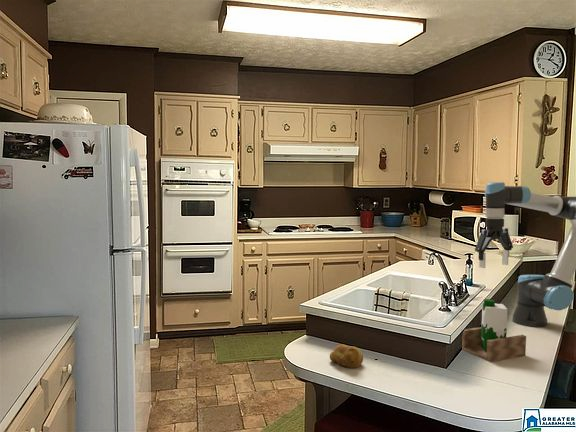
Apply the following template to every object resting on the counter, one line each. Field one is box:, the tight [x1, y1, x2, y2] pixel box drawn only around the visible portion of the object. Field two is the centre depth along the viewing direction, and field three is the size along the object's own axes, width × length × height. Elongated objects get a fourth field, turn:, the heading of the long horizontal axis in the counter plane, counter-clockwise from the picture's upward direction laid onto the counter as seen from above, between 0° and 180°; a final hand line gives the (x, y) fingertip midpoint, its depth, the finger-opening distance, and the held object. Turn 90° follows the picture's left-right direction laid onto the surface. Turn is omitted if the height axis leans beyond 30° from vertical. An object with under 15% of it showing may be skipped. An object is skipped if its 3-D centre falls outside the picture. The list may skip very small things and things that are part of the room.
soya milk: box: [481, 298, 508, 352], centre depth 197 cm, size 9×9×20 cm
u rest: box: [461, 326, 527, 363], centre depth 198 cm, size 18×16×8 cm
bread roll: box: [329, 343, 364, 369], centre depth 184 cm, size 13×10×8 cm
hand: (493, 266), depth 218 cm, fingers open, 13 cm apart
